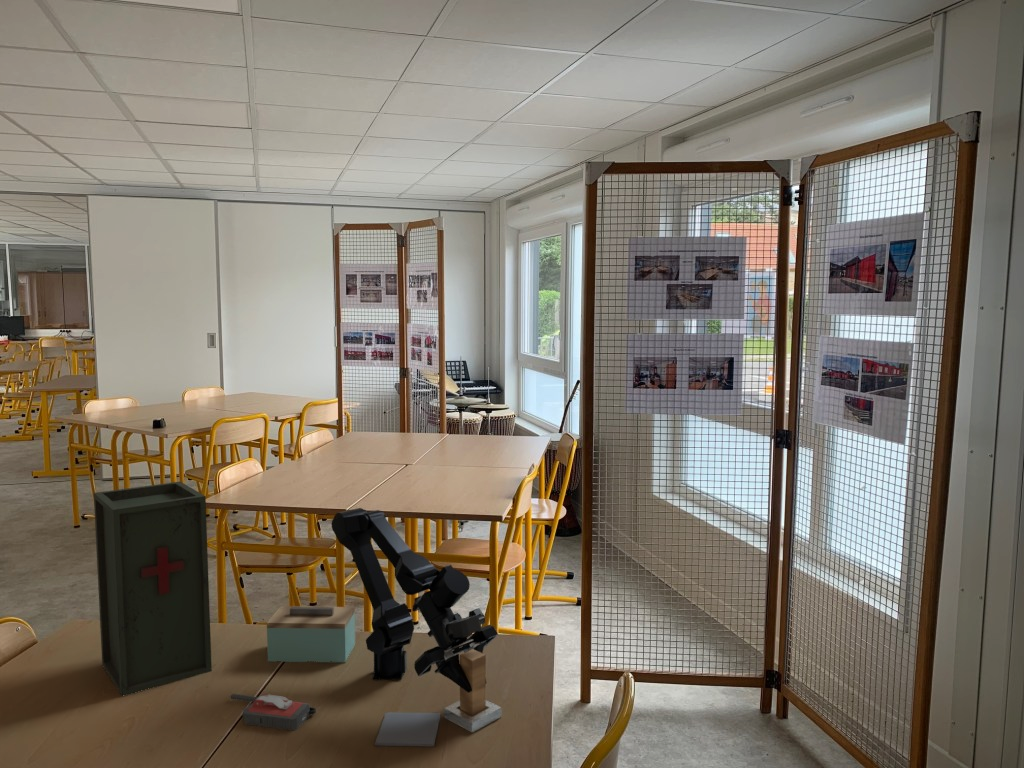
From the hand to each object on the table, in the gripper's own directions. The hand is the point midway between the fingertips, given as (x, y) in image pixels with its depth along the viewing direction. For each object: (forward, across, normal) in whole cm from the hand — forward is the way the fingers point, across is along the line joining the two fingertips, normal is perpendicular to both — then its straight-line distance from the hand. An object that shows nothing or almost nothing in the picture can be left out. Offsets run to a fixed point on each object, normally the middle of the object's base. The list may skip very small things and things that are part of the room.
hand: (477, 688), depth 153 cm
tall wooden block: (+4, 0, +6) cm, 7 cm away
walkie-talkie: (-18, -28, +28) cm, 43 cm away
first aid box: (-44, -35, +53) cm, 77 cm away
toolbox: (-31, -6, +40) cm, 51 cm away
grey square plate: (0, -12, +10) cm, 15 cm away
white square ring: (+4, 0, +6) cm, 7 cm away
